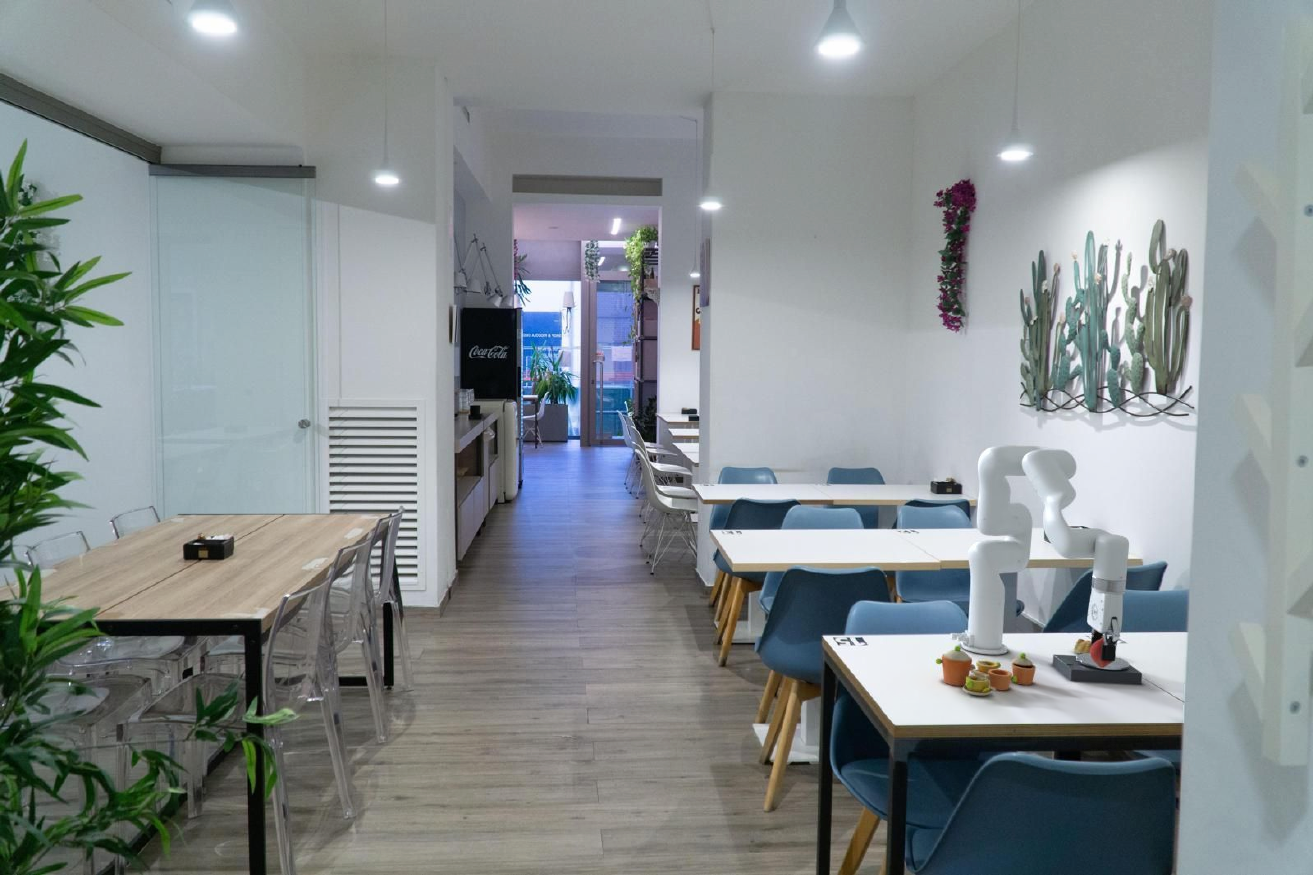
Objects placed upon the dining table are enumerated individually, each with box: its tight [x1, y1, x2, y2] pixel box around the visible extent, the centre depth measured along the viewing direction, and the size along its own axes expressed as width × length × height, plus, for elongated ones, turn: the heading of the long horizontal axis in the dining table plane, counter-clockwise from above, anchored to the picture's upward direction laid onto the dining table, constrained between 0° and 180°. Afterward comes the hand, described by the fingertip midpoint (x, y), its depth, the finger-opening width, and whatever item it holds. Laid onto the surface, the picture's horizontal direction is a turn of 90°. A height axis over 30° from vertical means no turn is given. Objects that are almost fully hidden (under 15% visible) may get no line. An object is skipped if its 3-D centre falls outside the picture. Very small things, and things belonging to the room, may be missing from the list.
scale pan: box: [1075, 653, 1130, 670], centre depth 264 cm, size 13×13×1 cm
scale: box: [1052, 654, 1143, 685], centre depth 265 cm, size 18×14×3 cm
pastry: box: [1073, 638, 1091, 655], centre depth 283 cm, size 9×7×4 cm
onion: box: [1090, 636, 1117, 668], centre depth 245 cm, size 6×6×8 cm
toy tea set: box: [935, 645, 1037, 696], centre depth 253 cm, size 26×16×10 cm, turn 122°
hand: (1102, 655), depth 245 cm, fingers closed on onion, 6 cm apart
